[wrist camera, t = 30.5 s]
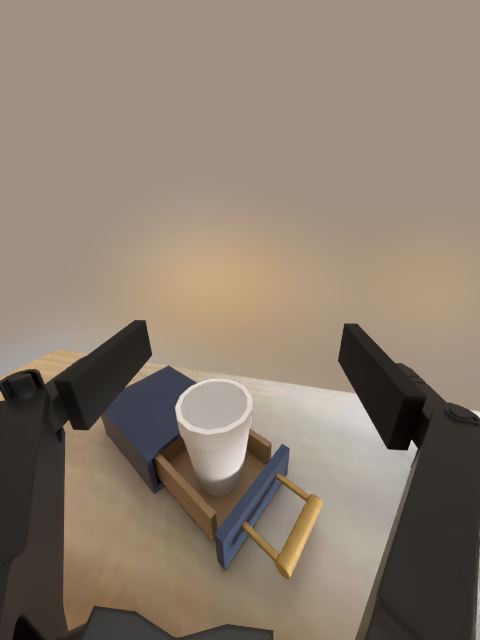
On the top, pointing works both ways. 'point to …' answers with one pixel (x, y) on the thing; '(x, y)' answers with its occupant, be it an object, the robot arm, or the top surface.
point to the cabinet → (146, 420)
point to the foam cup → (216, 431)
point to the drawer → (239, 500)
